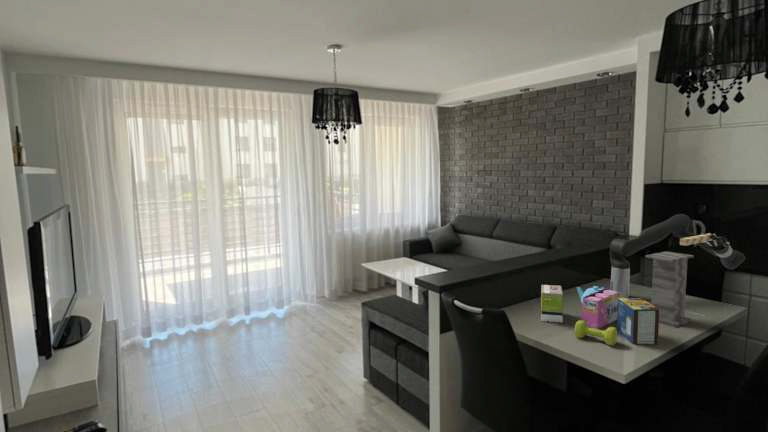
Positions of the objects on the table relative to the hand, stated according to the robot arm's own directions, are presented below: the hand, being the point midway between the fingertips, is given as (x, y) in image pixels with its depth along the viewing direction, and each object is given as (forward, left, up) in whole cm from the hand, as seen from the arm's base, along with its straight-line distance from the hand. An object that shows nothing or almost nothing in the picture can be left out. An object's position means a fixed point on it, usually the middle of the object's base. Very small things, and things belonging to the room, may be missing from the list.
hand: (706, 234), depth 216 cm
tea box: (-65, -49, -39) cm, 90 cm away
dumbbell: (-43, -70, -39) cm, 91 cm away
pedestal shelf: (-16, -27, -39) cm, 50 cm away
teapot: (-48, -20, -39) cm, 65 cm away
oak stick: (-4, -7, -3) cm, 9 cm away
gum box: (-43, -44, -39) cm, 73 cm away
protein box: (-28, -58, -39) cm, 76 cm away
